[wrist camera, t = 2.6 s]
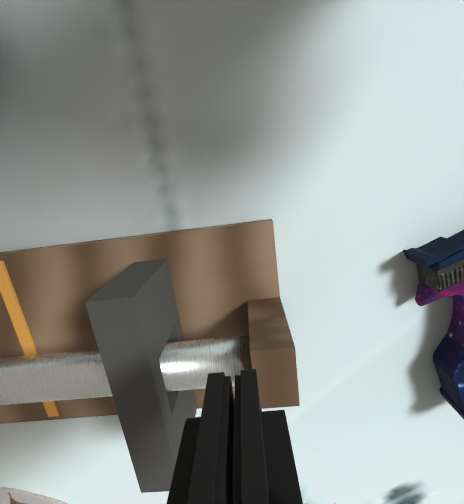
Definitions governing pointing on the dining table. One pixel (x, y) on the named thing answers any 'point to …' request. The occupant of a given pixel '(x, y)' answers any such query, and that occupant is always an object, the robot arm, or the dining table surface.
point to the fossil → (24, 497)
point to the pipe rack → (174, 353)
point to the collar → (143, 366)
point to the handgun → (460, 287)
